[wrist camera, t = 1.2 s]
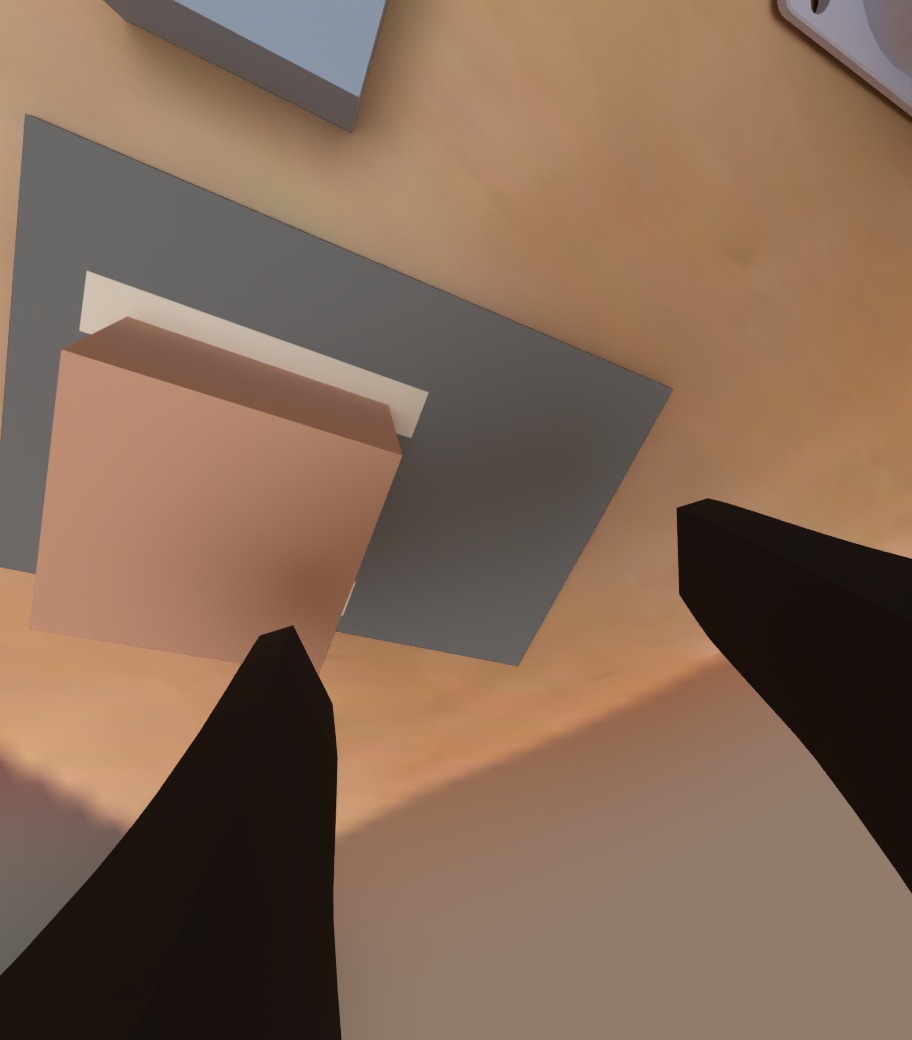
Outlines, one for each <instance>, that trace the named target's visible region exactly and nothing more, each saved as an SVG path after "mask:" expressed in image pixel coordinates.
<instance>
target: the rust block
mask: <svg viewBox="0 0 912 1040" xmlns="http://www.w3.org/2000/svg"><path fill="white" fill-rule="evenodd" d="M401 458H402V452H401V449H400V445H399V441H398V438H397V434H396V431H395V427H394V423H393V420H392V416H391V413H390V409H389V405H387V404H384V403H381V402H378V401H375V400H372V399H369V398H366V397H363V396H360V395H357V394H354V393H351V392H348V391H345V390H342V389H340V388H337V387H334V386H331V385H328V384H325V383H322V382H319V381H316V380H313V379H310V378H307V377H304V376H301V375H298V374H295V373H292V372H289V371H287V370H284V369H281V368H278V367H275V366H272V365H269V364H266V363H263V362H260V361H257V360H254V359H251V358H248V357H245V356H242V355H239V354H237V353H234V352H231V351H228V350H225V349H222V348H219V347H216V346H213V345H210V344H207V343H204V342H201V341H198V340H195V339H192V338H189V337H186V336H184V335H181V334H178V333H175V332H172V331H169V330H166V329H163V328H160V327H157V326H154V325H151V324H148V323H145V322H142V321H139V320H136V319H133V318H131V317H128V316H127V317H125V318H123V319H121V320H119V321H117V322H115V323H113V324H111V325H109V326H107V327H105V328H103V329H101V330H99V331H97V332H95V333H93V334H91V335H89V336H87V337H85V338H83V339H81V340H79V341H77V342H75V343H73V344H71V345H69V346H67V347H65V348H63V349H61V357H60V365H59V374H58V383H57V392H56V401H55V410H54V418H53V427H52V436H51V445H50V454H49V463H48V471H47V480H46V489H45V498H44V507H43V515H42V524H41V533H40V542H39V551H38V560H37V568H36V577H35V586H34V595H33V604H32V613H31V621H30V629H31V630H38V631H44V632H50V633H56V634H62V635H68V636H74V637H81V638H87V639H93V640H99V641H105V642H111V643H118V644H124V645H130V646H136V647H142V648H148V649H155V650H161V651H167V652H173V653H179V654H185V655H192V656H198V657H204V658H210V659H216V660H222V661H229V662H235V663H241V664H242V663H243V661H244V659H245V658H246V656H247V655H248V653H249V651H250V650H251V648H252V646H253V645H254V643H255V642H256V640H257V639H258V637H259V636H260V635H263V634H266V633H269V632H273V631H276V630H279V629H282V628H286V627H289V626H292V625H293V626H294V628H295V630H296V632H297V634H298V636H299V638H300V640H301V642H302V644H303V646H304V648H305V650H306V652H307V654H308V656H309V658H310V660H311V662H312V664H313V666H314V668H315V670H316V672H317V674H318V675H319V672H320V670H321V667H322V664H323V662H324V659H325V656H326V654H327V651H328V649H329V646H330V643H331V641H332V638H333V636H334V633H335V630H336V628H337V625H338V622H339V620H340V617H341V615H342V612H343V609H344V607H345V604H346V602H347V599H348V596H349V594H350V591H351V589H352V586H353V583H354V581H355V578H356V575H357V573H358V570H359V568H360V565H361V562H362V560H363V557H364V555H365V552H366V549H367V547H368V544H369V542H370V539H371V536H372V534H373V531H374V528H375V526H376V523H377V521H378V518H379V515H380V513H381V510H382V508H383V505H384V502H385V500H386V497H387V494H388V492H389V489H390V487H391V484H392V481H393V479H394V476H395V474H396V471H397V468H398V466H399V463H400V461H401Z"/></svg>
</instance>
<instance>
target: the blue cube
mask: <svg viewBox="0 0 912 1040" xmlns="http://www.w3.org/2000/svg"><path fill="white" fill-rule="evenodd" d="M103 1H105V2H106V3H107V4H108V5H109V6H110V7H111V8H112V9H113V10H114V11H115V12H117V13H118V14H119V15H120V16H121V17H122V18H123V19H124V20H126V21H128V22H130V23H132V24H134V25H136V26H138V27H140V28H142V29H144V30H146V31H148V32H150V33H152V34H154V35H156V36H158V37H160V38H162V39H164V40H166V41H168V42H170V43H172V44H174V45H176V46H178V47H180V48H182V49H184V50H186V51H188V52H190V53H192V54H194V55H196V56H198V57H200V58H202V59H204V60H206V61H208V62H210V63H212V64H214V65H216V66H218V67H220V68H222V69H224V70H226V71H228V72H230V73H232V74H234V75H236V76H238V77H240V78H242V79H244V80H246V81H248V82H250V83H252V84H254V85H256V86H258V87H260V88H262V89H264V90H266V91H268V92H270V93H272V94H274V95H276V96H278V97H280V98H282V99H284V100H286V101H288V102H290V103H292V104H294V105H296V106H298V107H300V108H302V109H304V110H306V111H308V112H310V113H312V114H314V115H316V116H318V117H320V118H322V119H324V120H326V121H328V122H330V123H332V124H334V125H336V126H338V127H340V128H342V129H344V130H346V131H348V132H350V133H352V130H353V127H354V123H355V119H356V116H357V112H358V109H359V105H360V101H361V98H362V94H363V90H364V87H365V83H366V80H367V76H368V72H369V69H370V65H371V61H372V58H373V54H374V51H375V47H376V43H377V40H378V36H379V32H380V29H381V25H382V22H383V18H384V14H385V11H386V7H387V4H388V0H103Z"/></svg>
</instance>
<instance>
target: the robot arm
mask: <svg viewBox="0 0 912 1040" xmlns="http://www.w3.org/2000/svg"><path fill="white" fill-rule="evenodd" d="M818 3H819V4H818V7H817V10H816V12H815V13H813V11H812V9H811V0H777V5H778V9H779V12H780V13H781V14H782V16H783V17H784V18H785V19H786V20H788V21H789V22H790V23H792V24H793V25H794V26H796V27H797V28H798V29H799V30H801V31H802V32H803V33H805V34H806V35H807V36H808V37H810V38H811V39H812V40H814V41H815V42H816V43H817V44H819V45H820V46H821V47H823V48H824V49H825V50H826V51H828V52H829V53H830V54H832V55H833V56H834V57H835V58H837V59H838V60H839V61H841V62H842V63H843V64H844V65H846V66H847V67H848V68H850V69H851V70H852V71H853V72H855V73H856V74H857V75H859V76H860V77H861V78H863V79H864V80H865V81H866V82H868V83H869V84H870V85H872V86H873V87H874V88H875V89H877V90H878V91H879V92H881V93H882V94H883V95H884V96H886V97H887V98H888V99H890V100H891V101H892V102H893V103H895V104H896V105H897V106H899V107H900V108H901V109H902V110H904V111H905V112H906V113H908V114H909V115H910V116H911V117H912V0H818ZM677 535H678V568H679V595H680V596H681V598H682V599H683V601H684V602H685V604H686V605H687V607H688V608H689V610H690V611H691V613H692V615H693V616H694V618H695V619H696V620H697V622H698V623H699V625H700V626H701V628H702V629H703V630H704V632H705V633H706V635H707V636H708V638H709V639H710V640H711V641H712V642H713V643H714V645H715V646H716V647H717V648H718V649H719V650H720V651H721V653H722V654H723V655H724V656H725V657H726V658H727V659H728V660H729V662H730V663H731V664H732V665H733V666H734V667H735V668H736V669H737V671H738V672H739V673H740V674H741V675H742V676H743V677H744V678H745V679H746V681H747V682H748V683H749V684H750V685H751V686H752V687H753V688H754V689H755V691H756V692H757V693H758V694H759V695H760V696H761V697H762V698H763V699H764V700H765V702H766V703H767V704H768V705H769V706H770V707H771V708H772V709H773V710H774V711H775V713H776V714H777V715H778V716H779V717H780V718H781V719H782V720H783V721H784V723H785V724H786V725H787V726H788V727H789V728H790V729H791V730H792V732H793V733H794V734H795V735H796V736H797V737H798V738H799V739H800V741H801V742H802V743H803V744H804V746H805V747H806V748H807V749H808V750H809V752H810V753H811V754H812V755H813V756H814V758H815V759H816V760H817V761H818V763H819V764H820V765H821V767H822V768H823V770H824V771H825V772H826V774H827V775H828V776H829V778H830V779H831V780H832V782H833V783H834V784H835V786H836V787H837V788H838V790H839V791H840V792H841V794H842V795H843V796H844V798H845V799H846V801H847V802H848V803H849V805H850V806H851V807H852V808H853V810H854V811H855V813H856V814H857V815H858V817H859V818H860V820H861V821H862V823H863V824H864V825H865V827H866V828H867V830H868V831H869V833H870V834H871V835H872V837H873V838H874V840H875V841H876V842H877V844H878V845H879V847H880V848H881V849H882V851H883V852H884V854H885V855H886V856H887V858H888V859H889V861H890V862H891V864H892V865H893V866H894V868H895V869H896V871H897V872H898V873H899V875H900V877H901V878H902V880H903V881H904V883H905V884H906V886H907V887H908V889H909V890H910V892H911V893H912V559H911V558H907V557H903V556H899V555H896V554H892V553H888V552H884V551H881V550H877V549H873V548H869V547H866V546H862V545H859V544H855V543H852V542H849V541H845V540H842V539H838V538H835V537H832V536H829V535H825V534H822V533H819V532H816V531H813V530H809V529H806V528H803V527H800V526H797V525H794V524H791V523H788V522H784V521H781V520H778V519H775V518H772V517H769V516H766V515H763V514H760V513H757V512H754V511H751V510H747V509H744V508H741V507H738V506H735V505H731V504H728V503H724V502H721V501H717V500H713V499H709V498H707V499H704V500H701V501H697V502H694V503H691V504H688V505H684V506H681V507H678V508H677ZM336 795H337V746H336V734H335V724H334V714H333V705H332V702H331V700H330V698H329V696H328V694H327V692H326V690H325V688H324V686H323V684H322V682H321V680H320V678H319V676H318V674H317V672H316V670H315V668H314V666H313V664H312V662H311V660H310V658H309V656H308V654H307V652H306V650H305V648H304V646H303V644H302V642H301V640H300V638H299V636H298V634H297V632H296V630H295V628H294V626H293V625H292V626H289V627H286V628H282V629H279V630H276V631H273V632H269V633H266V634H263V635H260V636H259V637H258V639H257V640H256V642H255V643H254V645H253V646H252V648H251V650H250V651H249V653H248V655H247V656H246V658H245V659H244V661H243V663H242V664H241V666H240V668H239V669H238V671H237V673H236V674H235V676H234V678H233V679H232V681H231V683H230V684H229V686H228V687H227V689H226V691H225V692H224V694H223V695H222V697H221V699H220V700H219V702H218V703H217V705H216V707H215V708H214V710H213V711H212V713H211V714H210V716H209V718H208V719H207V721H206V722H205V724H204V726H203V727H202V729H201V730H200V732H199V733H198V735H197V736H196V738H195V739H194V741H193V742H192V744H191V745H190V746H189V748H188V749H187V751H186V752H185V754H184V755H183V757H182V758H181V759H180V761H179V762H178V764H177V765H176V767H175V768H174V770H173V771H172V772H171V774H170V775H169V777H168V778H167V780H166V781H165V782H164V784H163V785H162V787H161V788H160V790H159V791H158V793H157V794H156V795H155V797H154V798H153V799H152V801H151V802H150V803H149V805H148V806H147V807H146V809H145V810H144V811H143V813H142V814H141V815H140V816H139V818H138V819H137V820H136V822H135V823H134V824H133V826H132V827H131V828H130V829H129V830H128V832H127V833H126V834H125V835H124V837H123V838H122V839H121V840H120V842H119V843H118V844H117V845H116V847H115V848H114V849H113V850H112V852H111V853H110V854H109V855H108V856H107V858H106V859H105V860H104V861H103V863H102V864H101V865H100V866H99V867H98V869H97V870H96V871H95V872H94V873H93V875H92V876H91V877H90V878H89V879H88V880H87V881H86V882H85V883H84V885H83V886H82V887H81V888H80V889H79V890H78V891H77V892H76V894H75V895H74V896H73V897H72V898H71V899H70V900H69V901H68V903H67V904H66V905H65V906H64V907H63V908H62V909H61V910H60V911H59V913H58V914H57V915H56V916H55V917H54V918H53V919H52V920H51V921H50V923H49V924H48V925H47V926H46V927H45V928H44V929H43V930H42V931H41V933H40V934H39V935H38V936H37V937H36V938H35V939H34V940H33V942H32V943H31V944H30V945H29V946H28V947H27V948H26V949H25V950H24V951H23V952H22V953H21V955H20V956H19V957H18V958H17V959H16V960H15V961H14V962H13V963H12V964H11V965H10V966H9V967H8V968H7V969H6V970H5V971H4V972H3V973H2V974H1V975H0V1040H341V1028H340V1014H339V1001H338V988H337V971H336V954H335V937H334V921H333V920H334V918H333V883H334V854H335V825H336Z"/></svg>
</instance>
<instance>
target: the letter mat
mask: <svg viewBox="0 0 912 1040" xmlns="http://www.w3.org/2000/svg"><path fill="white" fill-rule="evenodd" d="M127 316H128V317H131V318H133V319H136V320H139V321H142V322H145V323H148V324H151V325H154V326H157V327H160V328H163V329H166V330H169V331H172V332H175V333H178V334H181V335H184V336H186V337H189V338H192V339H195V340H198V341H201V342H204V343H207V344H210V345H213V346H216V347H219V348H222V349H225V350H228V351H231V352H234V353H237V354H239V355H242V356H245V357H248V358H251V359H254V360H257V361H260V362H263V363H266V364H269V365H272V366H275V367H278V368H281V369H284V370H287V371H289V372H292V373H295V374H298V375H301V376H304V377H307V378H310V379H313V380H316V381H319V382H322V383H325V384H328V385H331V386H334V387H337V388H340V389H342V390H345V391H348V392H351V393H354V394H357V395H360V396H363V397H366V398H369V399H372V400H375V401H378V402H381V403H384V404H387V405H389V409H390V413H391V416H392V420H393V423H394V427H395V431H396V434H397V438H398V441H399V445H400V449H401V452H402V458H401V461H400V463H399V466H398V468H397V471H396V474H395V476H394V479H393V481H392V484H391V487H390V489H389V492H388V494H387V497H386V500H385V502H384V505H383V508H382V510H381V513H380V515H379V518H378V521H377V523H376V526H375V528H374V531H373V534H372V536H371V539H370V542H369V544H368V547H367V549H366V552H365V555H364V557H363V560H362V562H361V565H360V568H359V570H358V573H357V575H356V578H355V581H354V583H353V586H352V589H351V591H350V594H349V596H348V599H347V602H346V604H345V607H344V609H343V612H342V615H341V617H340V620H339V622H338V625H337V628H336V630H335V631H337V632H342V633H347V634H352V635H358V636H363V637H368V638H373V639H378V640H384V641H389V642H394V643H399V644H405V645H410V646H415V647H420V648H426V649H431V650H436V651H441V652H446V653H452V654H457V655H462V656H467V657H473V658H478V659H483V660H488V661H494V662H499V663H504V664H509V665H514V666H518V665H519V663H520V662H521V660H522V658H523V656H524V655H525V653H526V651H527V649H528V647H529V646H530V644H531V642H532V640H533V639H534V637H535V635H536V633H537V631H538V630H539V628H540V626H541V624H542V622H543V621H544V619H545V617H546V615H547V614H548V612H549V610H550V608H551V606H552V605H553V603H554V601H555V599H556V598H557V596H558V594H559V592H560V590H561V589H562V587H563V585H564V583H565V581H566V580H567V578H568V576H569V574H570V573H571V571H572V569H573V567H574V565H575V564H576V562H577V560H578V558H579V557H580V555H581V553H582V551H583V549H584V548H585V546H586V544H587V542H588V541H589V539H590V537H591V535H592V533H593V532H594V530H595V528H596V526H597V524H598V523H599V521H600V519H601V517H602V516H603V514H604V512H605V510H606V508H607V507H608V505H609V503H610V501H611V500H612V498H613V496H614V494H615V492H616V491H617V489H618V487H619V485H620V483H621V482H622V480H623V478H624V476H625V475H626V473H627V471H628V469H629V467H630V466H631V464H632V462H633V460H634V459H635V457H636V455H637V453H638V451H639V450H640V448H641V446H642V444H643V443H644V441H645V439H646V437H647V435H648V434H649V432H650V430H651V428H652V426H653V425H654V423H655V421H656V419H657V418H658V416H659V414H660V412H661V410H662V409H663V407H664V405H665V403H666V402H667V400H668V398H669V396H670V394H671V393H672V391H673V389H671V388H669V387H667V386H665V385H663V384H660V383H658V382H655V381H653V380H651V379H648V378H646V377H644V376H641V375H639V374H637V373H634V372H632V371H630V370H627V369H625V368H623V367H620V366H618V365H616V364H613V363H611V362H609V361H606V360H604V359H601V358H599V357H597V356H594V355H592V354H590V353H587V352H585V351H583V350H580V349H578V348H576V347H573V346H571V345H569V344H566V343H564V342H562V341H559V340H557V339H555V338H552V337H550V336H548V335H545V334H543V333H540V332H538V331H536V330H533V329H531V328H529V327H526V326H524V325H522V324H519V323H517V322H515V321H512V320H510V319H508V318H505V317H503V316H501V315H498V314H496V313H494V312H491V311H489V310H486V309H484V308H482V307H479V306H477V305H475V304H472V303H470V302H468V301H465V300H463V299H461V298H458V297H456V296H454V295H451V294H449V293H447V292H444V291H442V290H440V289H437V288H435V287H432V286H430V285H428V284H425V283H423V282H421V281H418V280H416V279H414V278H411V277H409V276H407V275H404V274H402V273H400V272H397V271H395V270H393V269H390V268H388V267H386V266H383V265H381V264H378V263H376V262H374V261H371V260H369V259H367V258H364V257H362V256H360V255H357V254H355V253H353V252H350V251H348V250H346V249H343V248H341V247H339V246H336V245H334V244H332V243H329V242H327V241H324V240H322V239H320V238H317V237H315V236H313V235H310V234H308V233H306V232H303V231H301V230H299V229H296V228H294V227H292V226H289V225H287V224H285V223H282V222H280V221H278V220H275V219H273V218H271V217H268V216H266V215H263V214H261V213H259V212H256V211H254V210H252V209H249V208H247V207H245V206H242V205H240V204H238V203H235V202H233V201H231V200H228V199H226V198H224V197H221V196H219V195H217V194H214V193H212V192H209V191H207V190H205V189H202V188H200V187H198V186H195V185H193V184H191V183H188V182H186V181H184V180H181V179H179V178H177V177H174V176H172V175H170V174H167V173H165V172H163V171H160V170H158V169H155V168H153V167H151V166H148V165H146V164H144V163H141V162H139V161H137V160H134V159H132V158H130V157H127V156H125V155H123V154H120V153H118V152H116V151H113V150H111V149H109V148H106V147H104V146H101V145H99V144H97V143H94V142H92V141H90V140H87V139H85V138H83V137H80V136H78V135H76V134H73V133H71V132H69V131H66V130H64V129H62V128H59V127H57V126H55V125H52V124H50V123H47V122H45V121H43V120H40V119H38V118H36V117H33V116H31V115H28V114H25V123H24V136H23V149H22V163H21V176H20V189H19V202H18V216H17V229H16V242H15V256H14V269H13V282H12V295H11V309H10V322H9V335H8V349H7V362H6V375H5V389H4V402H3V415H2V428H1V442H0V567H2V568H7V569H12V570H18V571H23V572H28V573H33V574H36V568H37V560H38V551H39V542H40V533H41V524H42V515H43V507H44V498H45V489H46V480H47V471H48V463H49V454H50V445H51V436H52V427H53V418H54V410H55V401H56V392H57V383H58V374H59V365H60V357H61V349H63V348H65V347H67V346H69V345H71V344H73V343H75V342H77V341H79V340H81V339H83V338H85V337H87V336H89V335H91V334H93V333H95V332H97V331H99V330H101V329H103V328H105V327H107V326H109V325H111V324H113V323H115V322H117V321H119V320H121V319H123V318H125V317H127Z"/></svg>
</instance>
